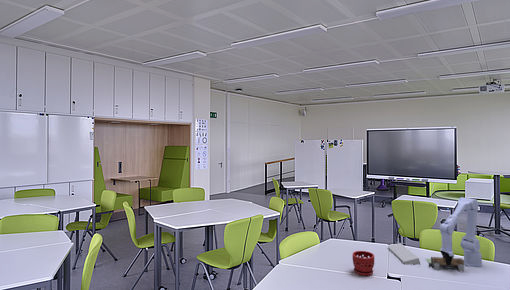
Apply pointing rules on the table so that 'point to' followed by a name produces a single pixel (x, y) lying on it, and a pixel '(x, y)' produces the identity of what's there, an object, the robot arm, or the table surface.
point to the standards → (447, 266)
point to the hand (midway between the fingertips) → (447, 263)
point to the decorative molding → (404, 254)
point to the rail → (443, 262)
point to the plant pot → (363, 262)
